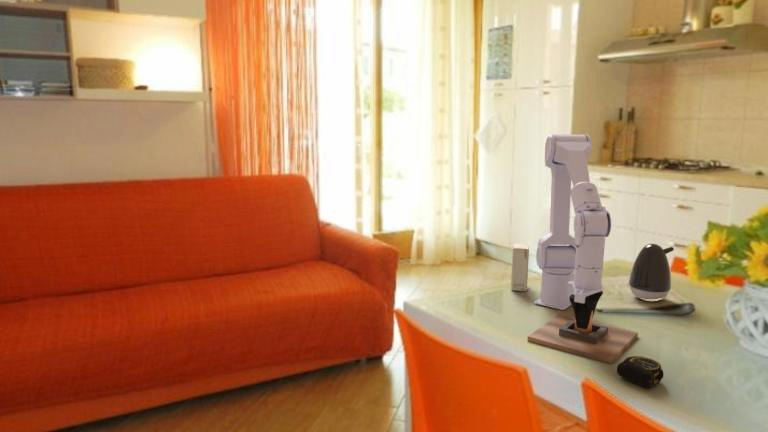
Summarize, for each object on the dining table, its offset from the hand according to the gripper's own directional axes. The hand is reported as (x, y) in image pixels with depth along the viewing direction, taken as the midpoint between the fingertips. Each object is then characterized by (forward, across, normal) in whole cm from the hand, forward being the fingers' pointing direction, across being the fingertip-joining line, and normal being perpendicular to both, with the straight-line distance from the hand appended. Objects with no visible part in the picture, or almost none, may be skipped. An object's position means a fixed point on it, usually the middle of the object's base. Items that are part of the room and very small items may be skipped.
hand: (584, 324), depth 125 cm
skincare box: (+3, -28, -24) cm, 36 cm away
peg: (+2, 0, 0) cm, 2 cm away
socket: (+3, 0, 0) cm, 3 cm away
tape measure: (+4, +15, +14) cm, 21 cm away
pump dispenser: (+3, -37, +9) cm, 38 cm away
